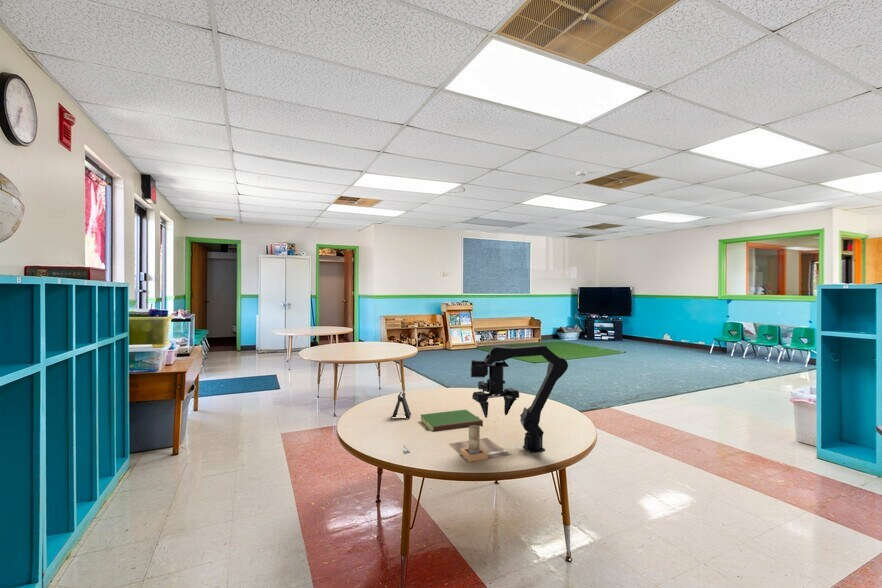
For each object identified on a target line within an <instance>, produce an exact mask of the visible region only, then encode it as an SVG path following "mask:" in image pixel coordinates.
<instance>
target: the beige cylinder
mask: <svg viewBox="0 0 882 588" xmlns="http://www.w3.org/2000/svg"><path fill="white" fill-rule="evenodd" d="M480 427H481V426H477V425H470V426H469V427H468V441H469V454H470V455H474V454H479V444H480V439H481V438H480V431H481V430H480Z"/></svg>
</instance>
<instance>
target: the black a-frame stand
mask: <svg viewBox="0 0 882 588" xmlns="http://www.w3.org/2000/svg"><path fill="white" fill-rule="evenodd" d="M401 404H402V408H403V411H404V412H403V413H404V415H405V416H406V418H410V419H411V417H410V415H411V416H412V413H411V411H410V408H409V404H408V402H407V399H406V393H405V392H404V391H401V392H399V394H398V395H397V402H396V405H395V406H394V407H395V408H394V410H393V413H392V415H391V418H392V417H396V415H397V414H398V412H399V408H400V405H401Z"/></svg>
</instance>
